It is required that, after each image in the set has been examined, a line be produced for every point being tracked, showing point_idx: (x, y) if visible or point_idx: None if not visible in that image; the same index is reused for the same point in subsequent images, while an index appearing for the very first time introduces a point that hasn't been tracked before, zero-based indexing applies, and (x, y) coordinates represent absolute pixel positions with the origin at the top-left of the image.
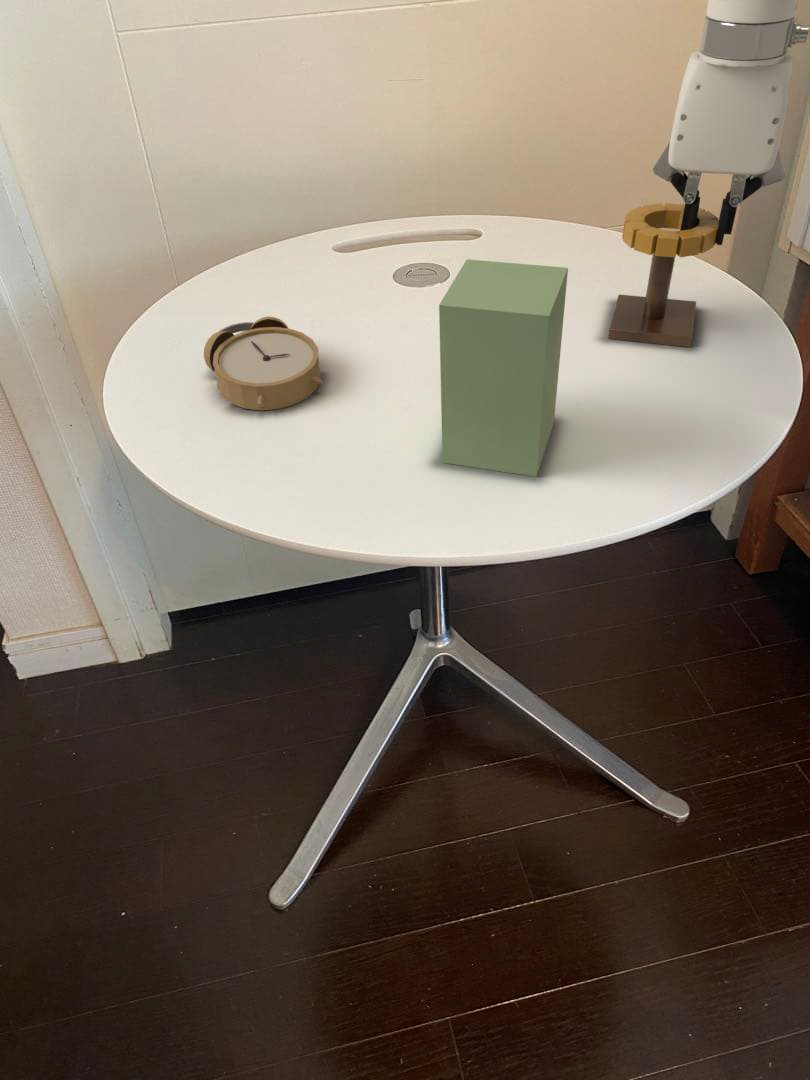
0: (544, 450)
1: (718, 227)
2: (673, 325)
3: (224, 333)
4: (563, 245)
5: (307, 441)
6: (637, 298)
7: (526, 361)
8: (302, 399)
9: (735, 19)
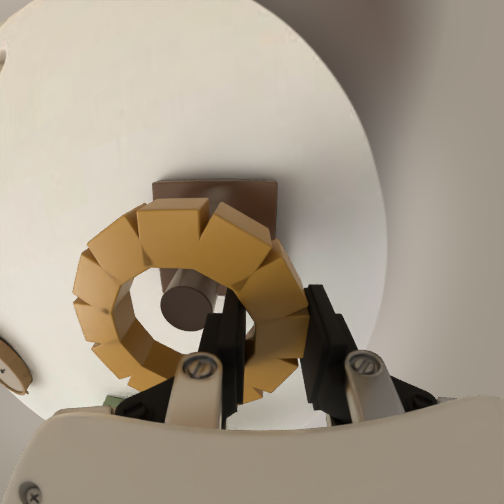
0: None
1: (301, 367)
2: None
3: None
4: (76, 28)
5: (60, 407)
6: (182, 191)
7: None
8: (31, 377)
9: None
